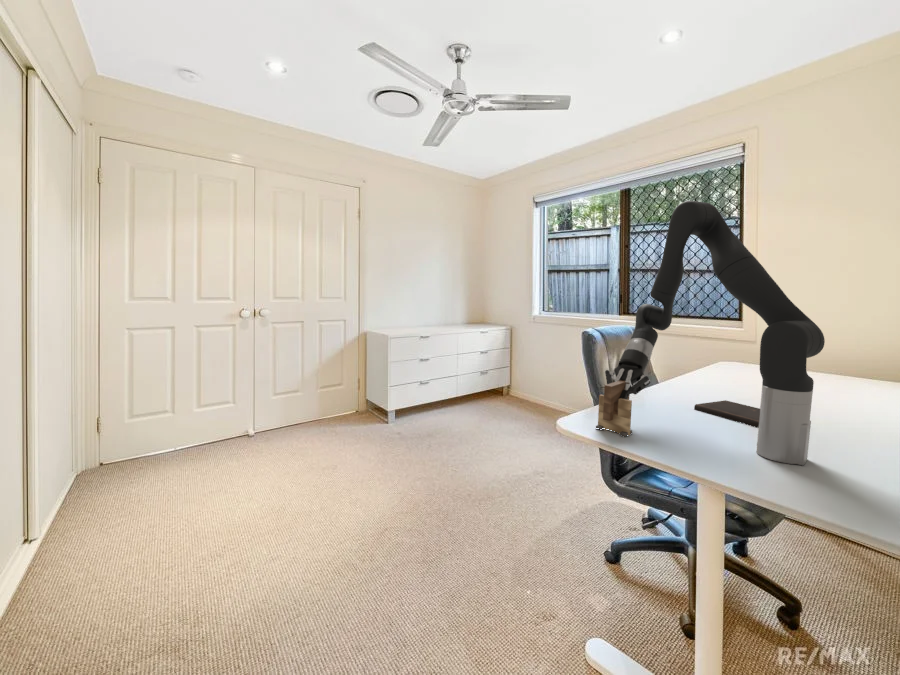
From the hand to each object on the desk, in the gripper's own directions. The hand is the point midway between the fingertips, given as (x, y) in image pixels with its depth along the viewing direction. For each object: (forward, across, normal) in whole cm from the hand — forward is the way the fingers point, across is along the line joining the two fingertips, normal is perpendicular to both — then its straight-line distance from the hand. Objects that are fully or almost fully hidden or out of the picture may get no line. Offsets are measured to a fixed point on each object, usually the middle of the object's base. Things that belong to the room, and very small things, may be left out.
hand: (615, 401), depth 114 cm
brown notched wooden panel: (+3, 0, +4) cm, 4 cm away
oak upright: (+7, +1, +4) cm, 9 cm away
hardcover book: (-25, +22, +38) cm, 50 cm away
